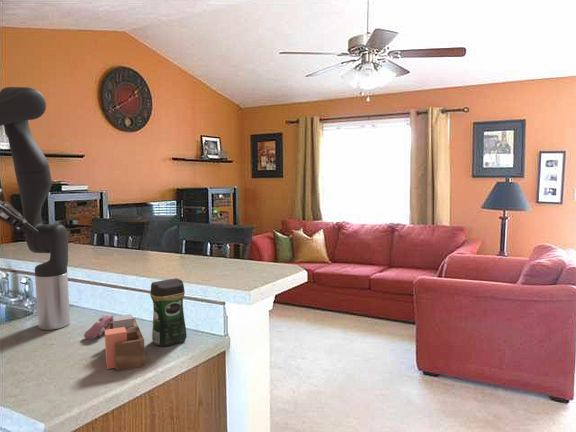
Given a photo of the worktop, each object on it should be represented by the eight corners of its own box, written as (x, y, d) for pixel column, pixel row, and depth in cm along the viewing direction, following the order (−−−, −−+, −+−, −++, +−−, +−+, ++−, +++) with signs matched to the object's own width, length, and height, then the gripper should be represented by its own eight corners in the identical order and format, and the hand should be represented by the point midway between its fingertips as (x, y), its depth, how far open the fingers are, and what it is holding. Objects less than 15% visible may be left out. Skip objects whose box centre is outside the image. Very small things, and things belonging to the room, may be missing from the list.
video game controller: (94, 345, 131) (102, 325, 130) (81, 338, 132) (90, 318, 130) (112, 333, 141) (121, 315, 140) (100, 326, 141) (109, 308, 140)
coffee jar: (179, 333, 137) (177, 274, 135) (190, 341, 130) (188, 280, 128) (148, 340, 131) (146, 279, 129) (158, 349, 124) (156, 285, 122)
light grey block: (114, 347, 126) (112, 316, 125) (132, 344, 128) (131, 314, 127) (115, 352, 122) (114, 321, 121) (134, 349, 124) (133, 318, 123)
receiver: (110, 345, 127) (109, 322, 126) (135, 341, 130) (134, 318, 129) (116, 371, 111) (115, 344, 110) (145, 365, 114) (144, 339, 113)
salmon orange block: (106, 362, 115) (104, 329, 114) (126, 359, 118) (124, 326, 117) (107, 369, 112) (105, 335, 111) (127, 365, 114) (126, 331, 113)
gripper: (-18, 178, 102) (45, 227, 109) (-9, 177, 114) (47, 221, 121) (-44, 201, 101) (22, 250, 107) (-32, 198, 112) (26, 242, 119)
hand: (35, 234), depth 114 cm, fingers closed
